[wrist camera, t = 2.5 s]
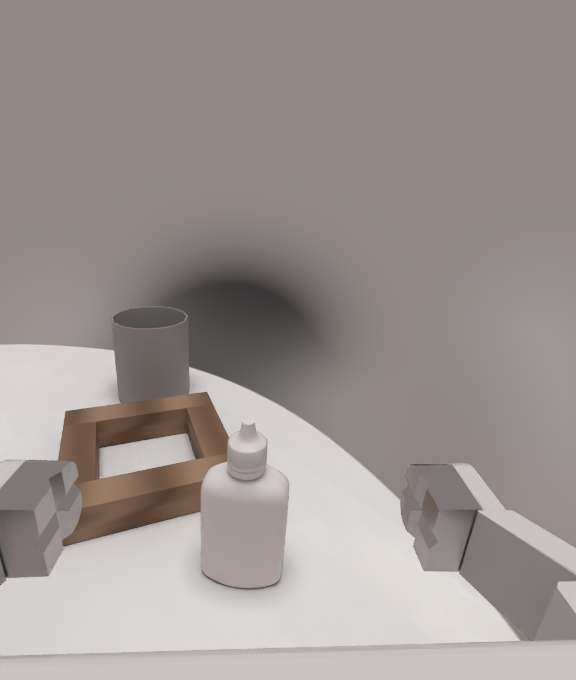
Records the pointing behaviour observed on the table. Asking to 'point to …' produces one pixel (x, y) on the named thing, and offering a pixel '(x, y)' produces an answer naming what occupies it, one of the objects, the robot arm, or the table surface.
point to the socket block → (147, 485)
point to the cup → (151, 353)
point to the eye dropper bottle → (244, 514)
